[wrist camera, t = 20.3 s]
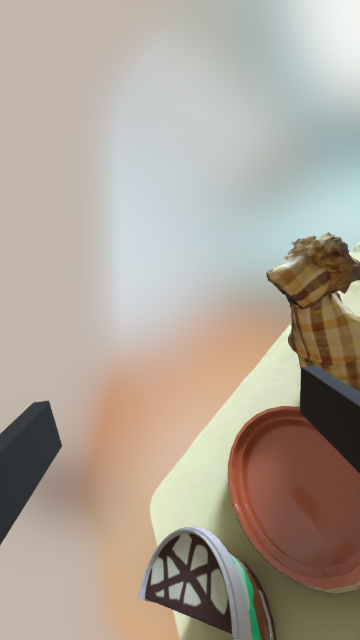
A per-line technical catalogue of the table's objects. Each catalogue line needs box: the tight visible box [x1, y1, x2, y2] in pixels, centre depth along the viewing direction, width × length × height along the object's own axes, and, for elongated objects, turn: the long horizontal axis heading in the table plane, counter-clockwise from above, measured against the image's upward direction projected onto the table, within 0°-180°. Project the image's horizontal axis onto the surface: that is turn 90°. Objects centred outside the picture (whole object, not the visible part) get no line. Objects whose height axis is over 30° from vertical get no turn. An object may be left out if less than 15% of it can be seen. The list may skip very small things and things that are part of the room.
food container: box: [138, 527, 276, 640], centre depth 22 cm, size 12×6×10 cm, turn 78°
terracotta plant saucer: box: [228, 406, 360, 594], centre depth 27 cm, size 18×18×3 cm
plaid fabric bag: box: [267, 233, 360, 390], centre depth 29 cm, size 14×14×25 cm
